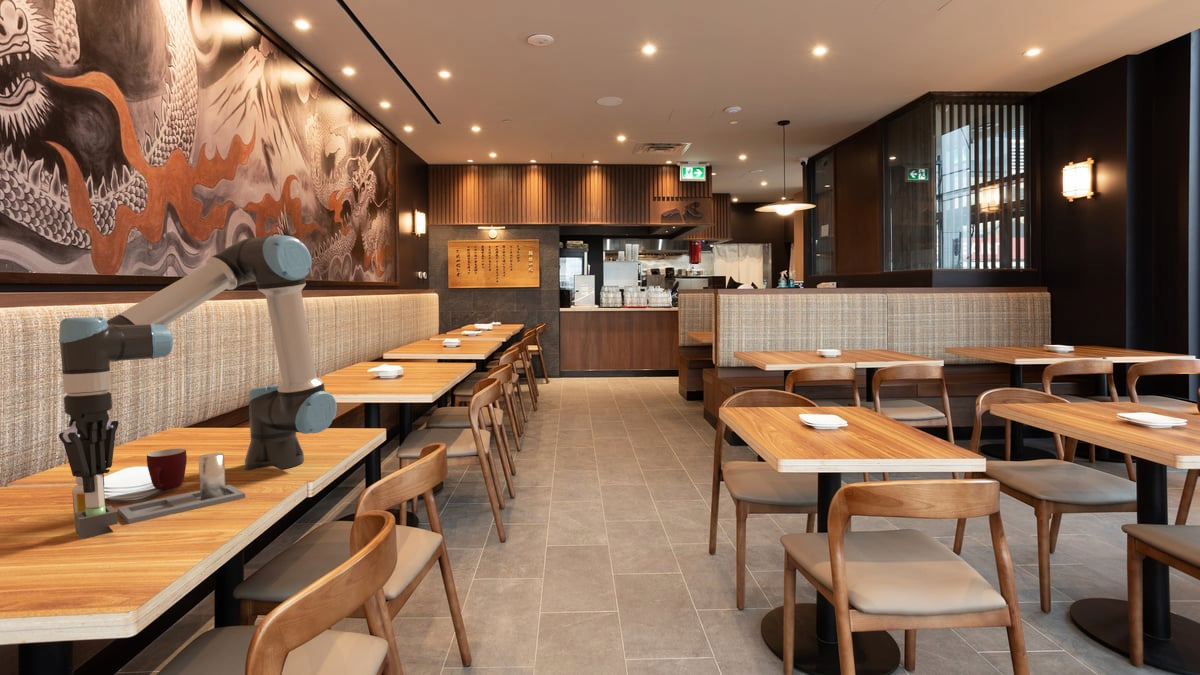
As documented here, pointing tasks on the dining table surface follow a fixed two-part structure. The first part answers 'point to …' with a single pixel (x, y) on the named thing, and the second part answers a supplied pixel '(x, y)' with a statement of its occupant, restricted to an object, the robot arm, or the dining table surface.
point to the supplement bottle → (79, 496)
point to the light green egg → (95, 511)
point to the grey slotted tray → (174, 505)
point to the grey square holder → (95, 523)
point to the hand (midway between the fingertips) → (95, 506)
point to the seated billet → (212, 475)
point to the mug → (167, 468)
